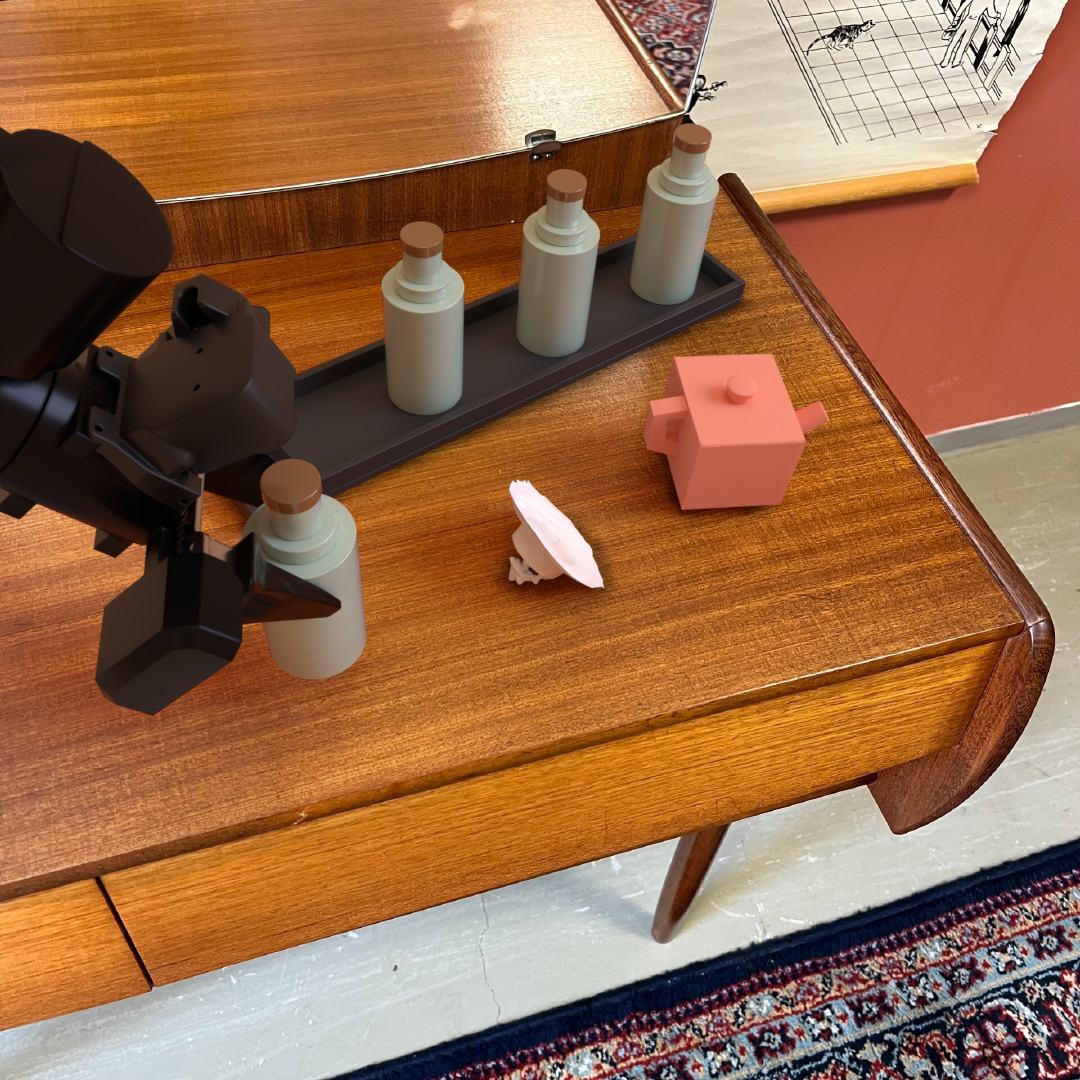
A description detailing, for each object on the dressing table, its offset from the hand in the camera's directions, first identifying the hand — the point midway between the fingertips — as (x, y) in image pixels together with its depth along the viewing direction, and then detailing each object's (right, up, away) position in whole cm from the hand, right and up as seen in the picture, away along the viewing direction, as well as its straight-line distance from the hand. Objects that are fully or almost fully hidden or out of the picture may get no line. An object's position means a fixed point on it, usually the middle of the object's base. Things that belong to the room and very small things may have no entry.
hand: (333, 562), depth 49 cm
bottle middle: (+11, +16, +26) cm, 33 cm away
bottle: (-2, -4, +5) cm, 7 cm away
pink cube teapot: (+22, +6, +20) cm, 30 cm away
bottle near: (+2, +12, +22) cm, 25 cm away
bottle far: (+20, +21, +31) cm, 42 cm away
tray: (+6, +14, +24) cm, 29 cm away
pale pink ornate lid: (+11, 0, +14) cm, 18 cm away
